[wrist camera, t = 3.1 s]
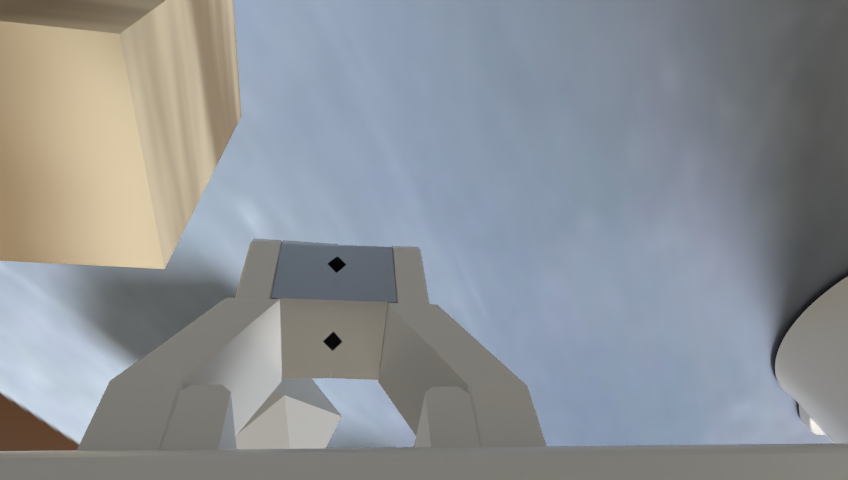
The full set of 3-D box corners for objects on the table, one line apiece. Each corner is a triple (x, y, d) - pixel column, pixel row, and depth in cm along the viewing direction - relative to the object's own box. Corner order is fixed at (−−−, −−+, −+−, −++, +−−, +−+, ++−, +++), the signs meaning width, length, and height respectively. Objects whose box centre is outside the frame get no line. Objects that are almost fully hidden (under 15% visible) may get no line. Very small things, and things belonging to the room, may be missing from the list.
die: (170, 303, 29) (73, 504, 25) (300, 331, 24) (206, 576, 21) (269, 349, 35) (204, 512, 32) (383, 377, 31) (324, 568, 28)
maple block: (229, -47, 19) (119, 33, 11) (241, 115, 22) (164, 268, 14) (106, -62, 18) (-108, 9, 10) (138, 106, 22) (-3, 260, 14)
